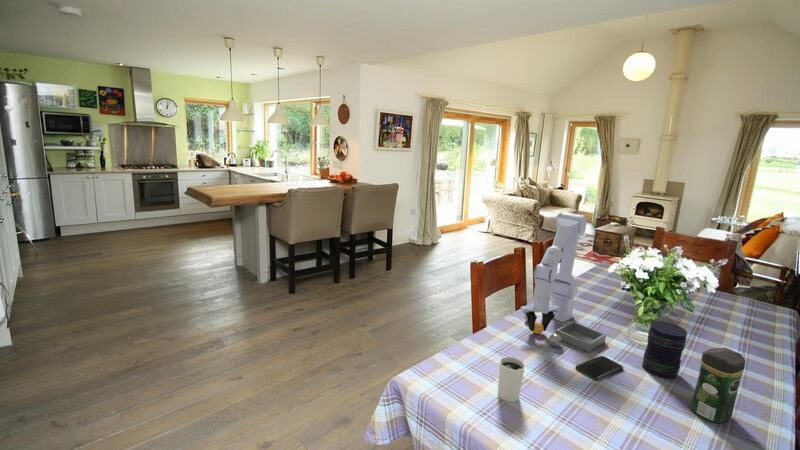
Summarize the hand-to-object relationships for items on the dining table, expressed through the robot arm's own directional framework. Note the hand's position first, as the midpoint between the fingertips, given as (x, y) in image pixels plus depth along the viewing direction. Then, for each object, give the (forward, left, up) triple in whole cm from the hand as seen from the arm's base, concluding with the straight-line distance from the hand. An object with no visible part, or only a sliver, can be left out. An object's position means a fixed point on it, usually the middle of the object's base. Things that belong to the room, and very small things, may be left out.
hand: (537, 329), depth 146 cm
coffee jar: (0, +53, -2) cm, 53 cm away
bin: (-9, +12, -1) cm, 15 cm away
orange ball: (0, 0, +1) cm, 1 cm away
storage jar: (-12, +37, -2) cm, 39 cm away
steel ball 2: (+3, +9, +1) cm, 10 cm away
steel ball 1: (-6, -7, +1) cm, 9 cm away
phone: (+4, +25, -2) cm, 25 cm away
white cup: (+40, +16, -2) cm, 43 cm away
